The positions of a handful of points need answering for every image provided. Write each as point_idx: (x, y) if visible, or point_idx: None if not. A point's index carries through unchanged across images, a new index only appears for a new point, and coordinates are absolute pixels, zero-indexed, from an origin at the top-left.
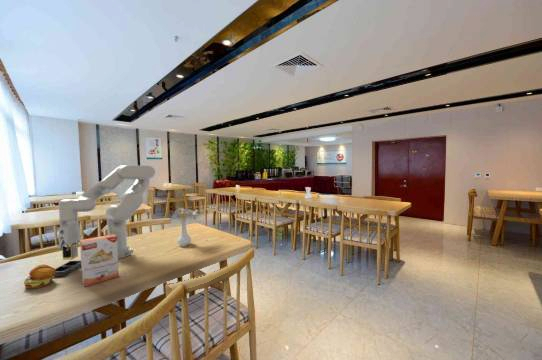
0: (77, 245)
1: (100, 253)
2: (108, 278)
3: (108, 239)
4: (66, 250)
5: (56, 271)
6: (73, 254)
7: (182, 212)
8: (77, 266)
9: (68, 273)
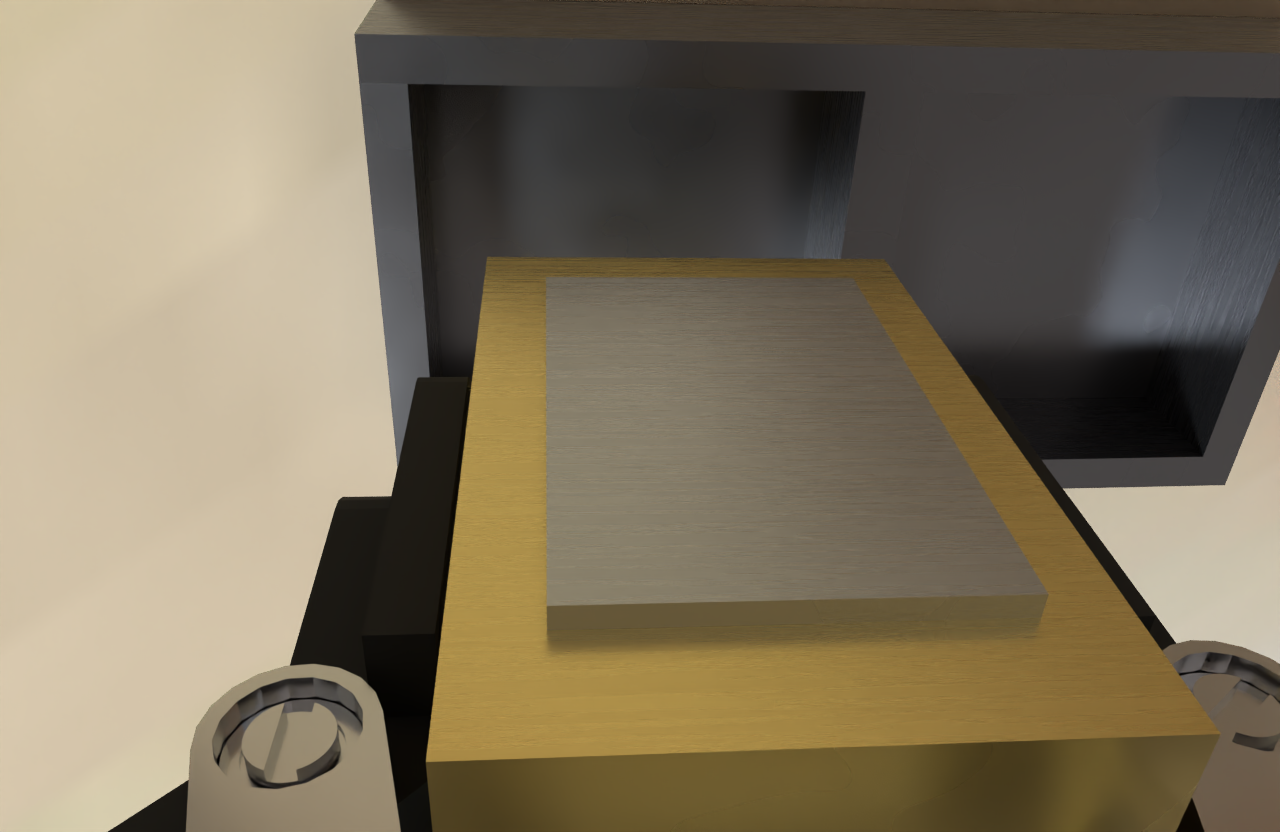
0: (262, 715)
1: None
2: None
3: None
4: (1244, 700)
5: (1260, 312)
6: (848, 337)
7: None
8: (722, 19)
9: (1120, 17)
